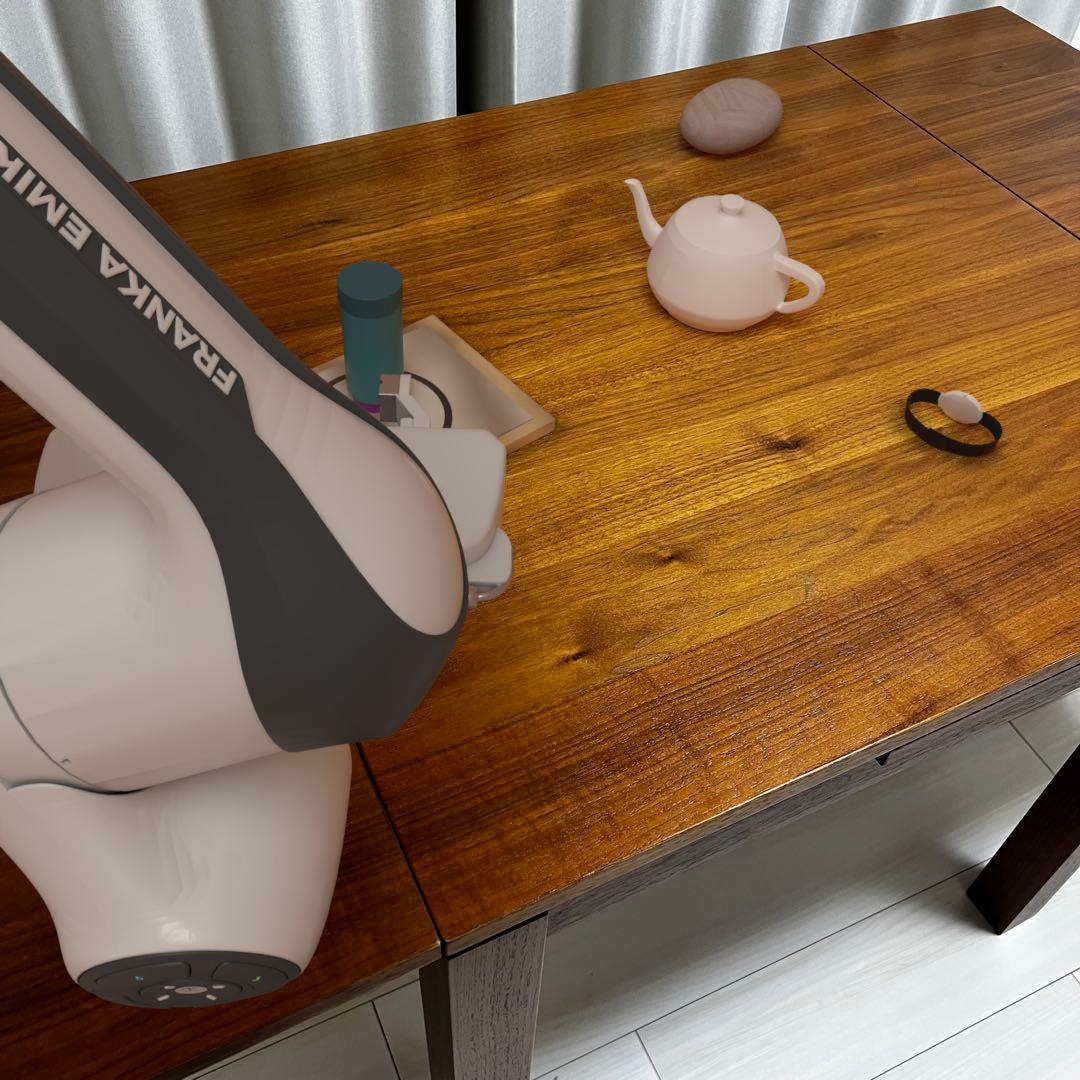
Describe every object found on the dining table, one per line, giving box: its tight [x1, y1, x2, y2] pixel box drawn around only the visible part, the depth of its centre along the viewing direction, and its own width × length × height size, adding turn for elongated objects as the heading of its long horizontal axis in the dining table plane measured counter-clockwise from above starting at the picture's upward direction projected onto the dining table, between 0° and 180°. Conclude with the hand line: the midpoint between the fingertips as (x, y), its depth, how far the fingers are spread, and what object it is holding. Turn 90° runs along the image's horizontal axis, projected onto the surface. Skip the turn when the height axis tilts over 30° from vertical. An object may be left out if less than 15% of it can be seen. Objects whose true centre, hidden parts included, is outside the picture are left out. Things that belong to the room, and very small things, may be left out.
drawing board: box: [311, 314, 557, 457], centre depth 91 cm, size 22×16×2 cm
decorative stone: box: [678, 77, 784, 155], centre depth 122 cm, size 13×9×5 cm
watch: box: [904, 388, 1003, 457], centre depth 94 cm, size 8×5×4 cm, turn 56°
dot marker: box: [336, 260, 404, 413], centre depth 88 cm, size 5×5×11 cm
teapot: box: [623, 178, 826, 333], centre depth 102 cm, size 20×12×10 cm, turn 53°
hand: (299, 380), depth 58 cm, fingers open, 8 cm apart
